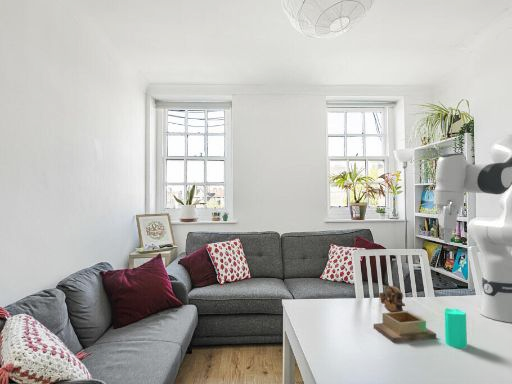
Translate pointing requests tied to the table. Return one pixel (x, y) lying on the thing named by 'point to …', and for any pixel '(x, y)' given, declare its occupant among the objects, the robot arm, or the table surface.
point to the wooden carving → (392, 299)
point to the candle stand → (403, 327)
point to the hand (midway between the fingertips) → (445, 241)
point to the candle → (455, 328)
